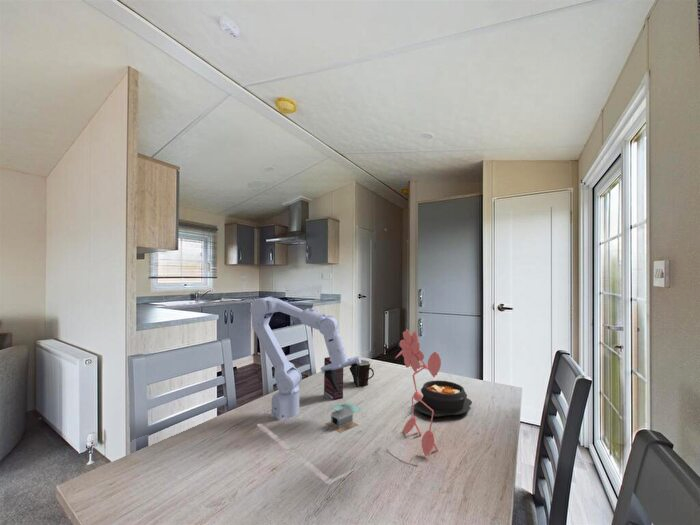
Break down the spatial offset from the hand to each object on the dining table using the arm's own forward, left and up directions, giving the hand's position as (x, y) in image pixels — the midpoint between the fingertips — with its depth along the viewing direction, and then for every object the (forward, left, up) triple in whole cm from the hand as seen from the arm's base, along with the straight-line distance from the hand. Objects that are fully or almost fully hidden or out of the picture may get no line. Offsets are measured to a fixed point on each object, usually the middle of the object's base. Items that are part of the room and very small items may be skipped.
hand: (347, 388), depth 113 cm
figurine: (+4, -24, -12) cm, 27 cm away
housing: (-4, -2, -10) cm, 11 cm away
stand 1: (+5, +6, -11) cm, 14 cm away
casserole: (+35, -16, -12) cm, 40 cm away
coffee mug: (+28, +22, -12) cm, 37 cm away
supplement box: (+9, +19, -12) cm, 24 cm away
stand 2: (-4, -2, -11) cm, 12 cm away
